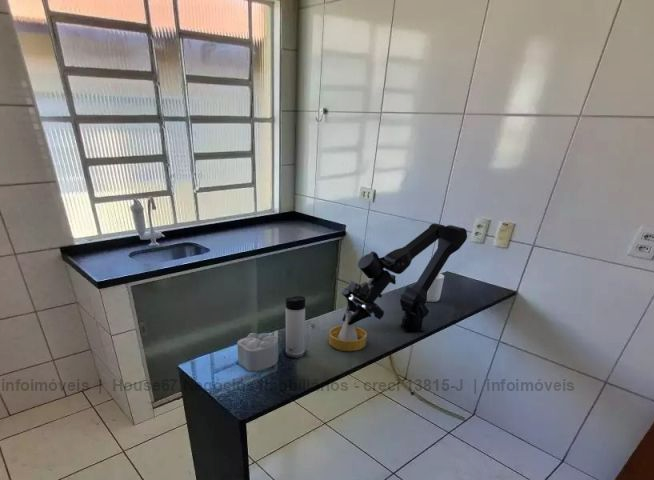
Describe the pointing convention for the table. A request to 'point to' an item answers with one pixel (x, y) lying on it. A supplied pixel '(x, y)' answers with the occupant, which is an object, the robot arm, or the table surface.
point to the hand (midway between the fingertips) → (345, 322)
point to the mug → (435, 289)
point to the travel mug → (295, 326)
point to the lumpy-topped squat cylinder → (258, 351)
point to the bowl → (347, 345)
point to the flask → (348, 329)
